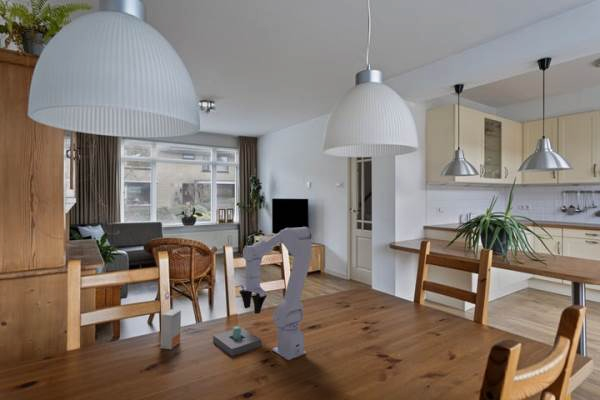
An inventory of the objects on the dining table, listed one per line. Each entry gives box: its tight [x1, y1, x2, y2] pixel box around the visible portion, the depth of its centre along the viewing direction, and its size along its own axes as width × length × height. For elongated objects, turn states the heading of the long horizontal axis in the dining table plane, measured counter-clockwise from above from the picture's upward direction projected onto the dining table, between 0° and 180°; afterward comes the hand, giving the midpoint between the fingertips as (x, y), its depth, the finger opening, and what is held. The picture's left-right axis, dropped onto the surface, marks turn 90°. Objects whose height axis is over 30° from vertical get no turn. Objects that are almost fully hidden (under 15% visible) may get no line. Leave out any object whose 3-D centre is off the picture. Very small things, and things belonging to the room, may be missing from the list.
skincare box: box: [160, 309, 182, 350], centre depth 117 cm, size 6×4×12 cm
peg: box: [232, 325, 241, 341], centre depth 119 cm, size 3×3×6 cm
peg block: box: [212, 326, 262, 357], centre depth 119 cm, size 14×12×2 cm
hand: (252, 310), depth 128 cm, fingers open, 7 cm apart
